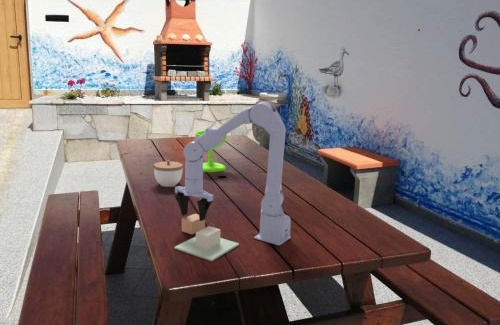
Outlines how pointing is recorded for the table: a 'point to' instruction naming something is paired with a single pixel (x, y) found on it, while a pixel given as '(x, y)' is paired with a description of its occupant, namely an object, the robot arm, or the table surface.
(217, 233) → the cream brick
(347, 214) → the table surface
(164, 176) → the lidded bowl
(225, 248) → the baseplate
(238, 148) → the table surface
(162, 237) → the table surface
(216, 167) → the wineglass
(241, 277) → the table surface
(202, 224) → the tan brick
